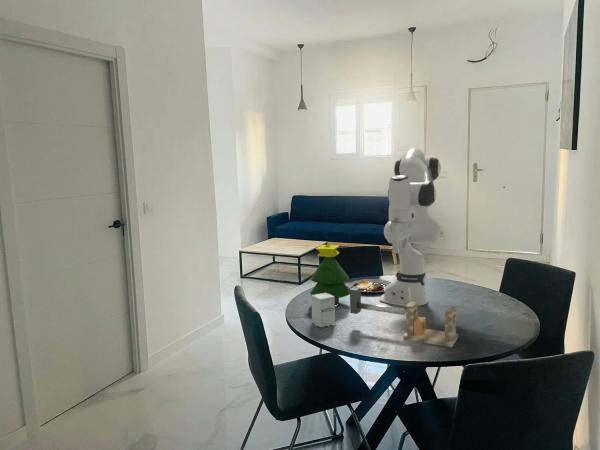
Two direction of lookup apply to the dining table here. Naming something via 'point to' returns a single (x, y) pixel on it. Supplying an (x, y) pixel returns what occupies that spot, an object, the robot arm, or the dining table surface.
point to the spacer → (419, 326)
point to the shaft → (357, 305)
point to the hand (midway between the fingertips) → (400, 250)
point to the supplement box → (323, 309)
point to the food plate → (367, 283)
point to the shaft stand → (430, 335)
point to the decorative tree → (330, 274)
